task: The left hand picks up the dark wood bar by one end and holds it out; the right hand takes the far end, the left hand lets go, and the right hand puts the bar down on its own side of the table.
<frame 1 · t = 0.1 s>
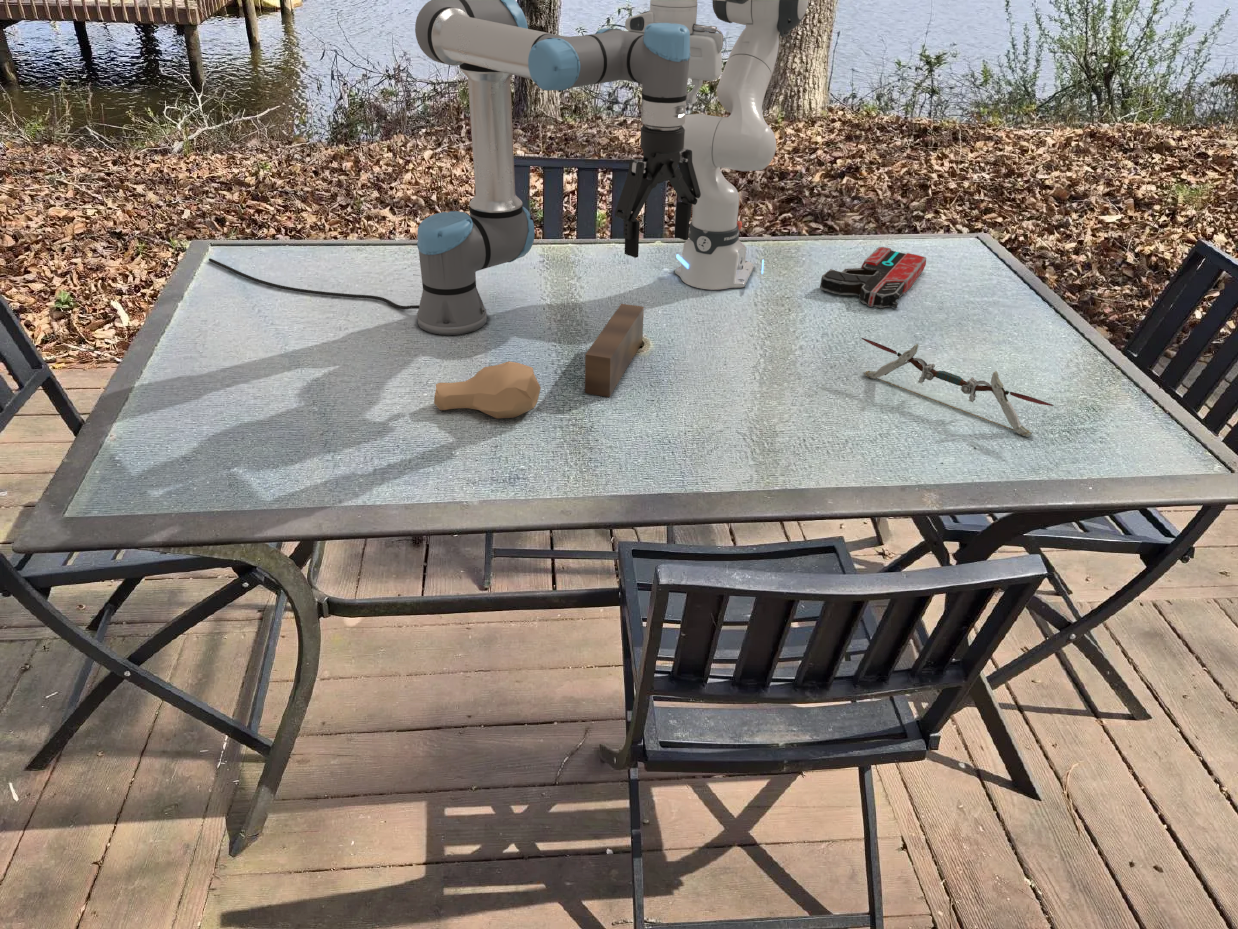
left hand: (657, 246, 161), 28 cm above the table, tool pointing down, fingers open, 13 cm apart
right hand: (668, 100, 172), 48 cm above the table, tool pointing down, fingers open, 8 cm apart
squash: (488, 410, 165), on the table
bar: (615, 366, 181), on the table
gun: (874, 283, 222), on the table
bow: (942, 404, 171), on the table
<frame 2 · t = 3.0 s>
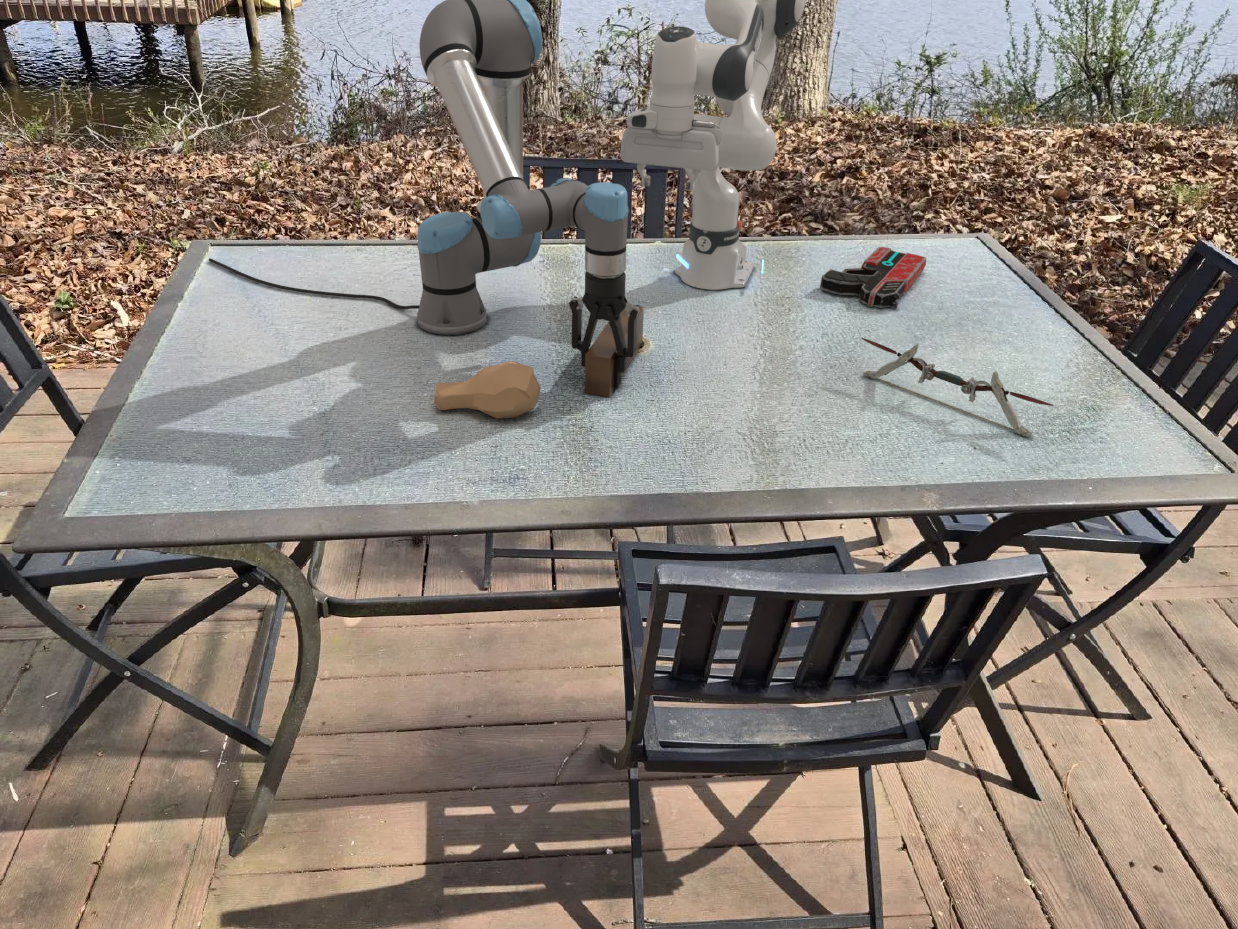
left hand: (603, 383, 174), 1 cm above the table, tool pointing down, fingers closed on bar, 5 cm apart
right hand: (667, 187, 183), 30 cm above the table, tool pointing down, fingers open, 8 cm apart
bar: (615, 366, 181), on the table, touching left hand
everything else where it was.
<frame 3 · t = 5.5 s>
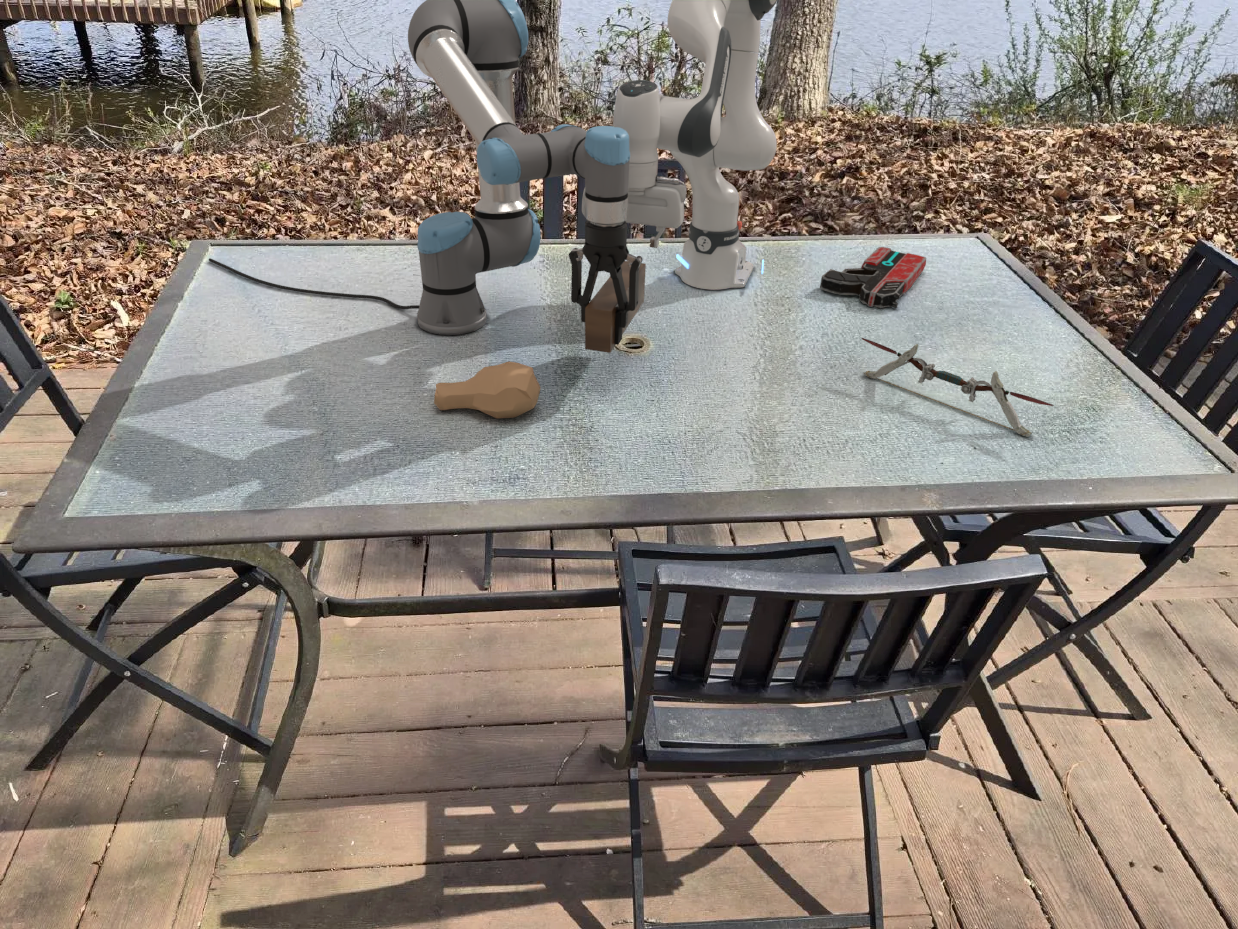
left hand: (604, 339, 168), 10 cm above the table, tool pointing down, fingers closed on bar, 5 cm apart
right hand: (631, 244, 176), 23 cm above the table, tool pointing down, fingers open, 8 cm apart
bar: (616, 324, 176), point 10 cm above the table, touching left hand
everything else where it was.
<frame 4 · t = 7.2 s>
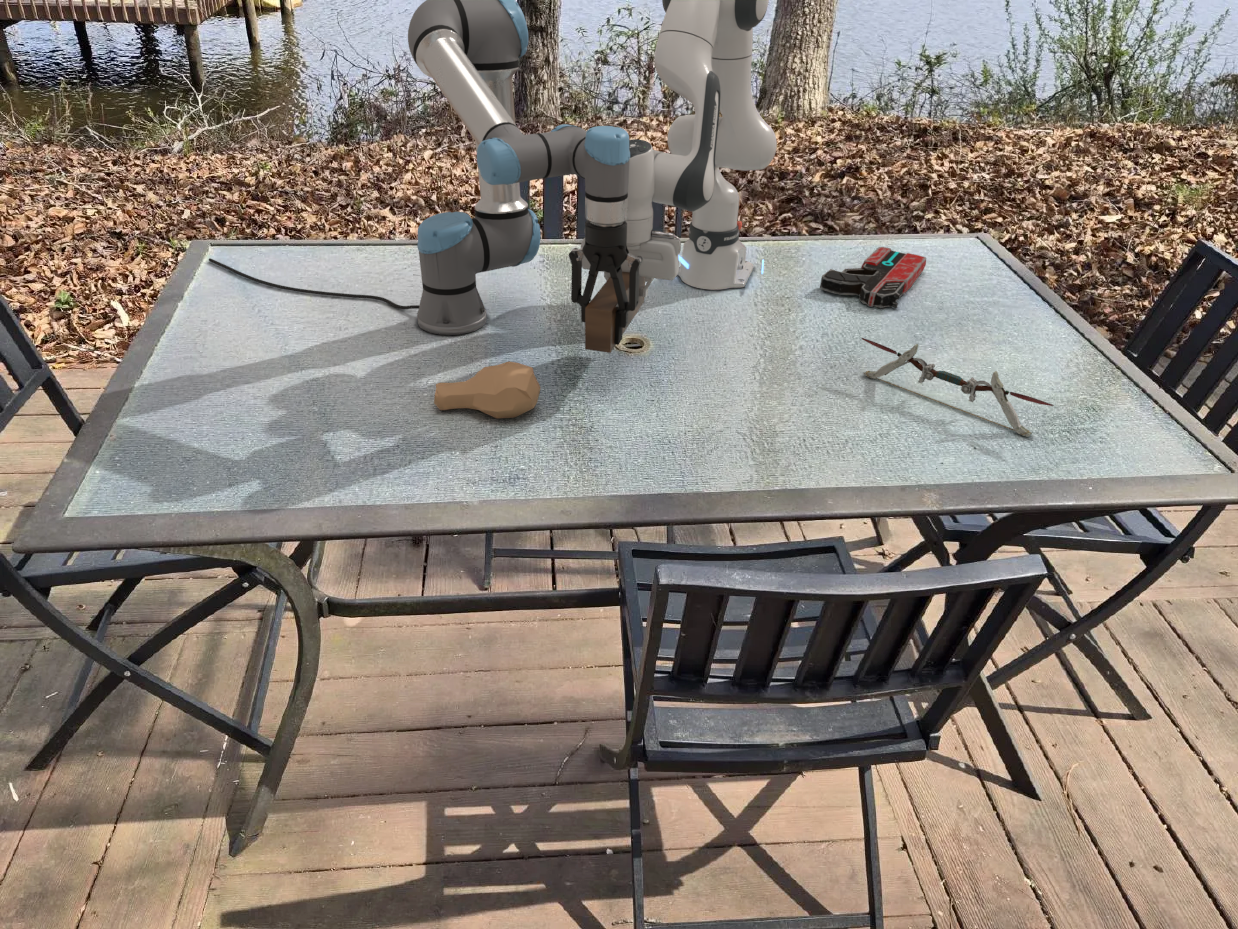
left hand: (604, 339, 168), 10 cm above the table, tool pointing down, fingers closed on bar, 5 cm apart
right hand: (628, 293, 181), 13 cm above the table, tool pointing down, fingers closed on bar, 5 cm apart
bar: (616, 324, 176), point 10 cm above the table, touching left hand, right hand
everything else where it was.
when the left hand's fingers open (10 cm above the table, at t = 8.1 s): bar stays where it is, held by the right hand.
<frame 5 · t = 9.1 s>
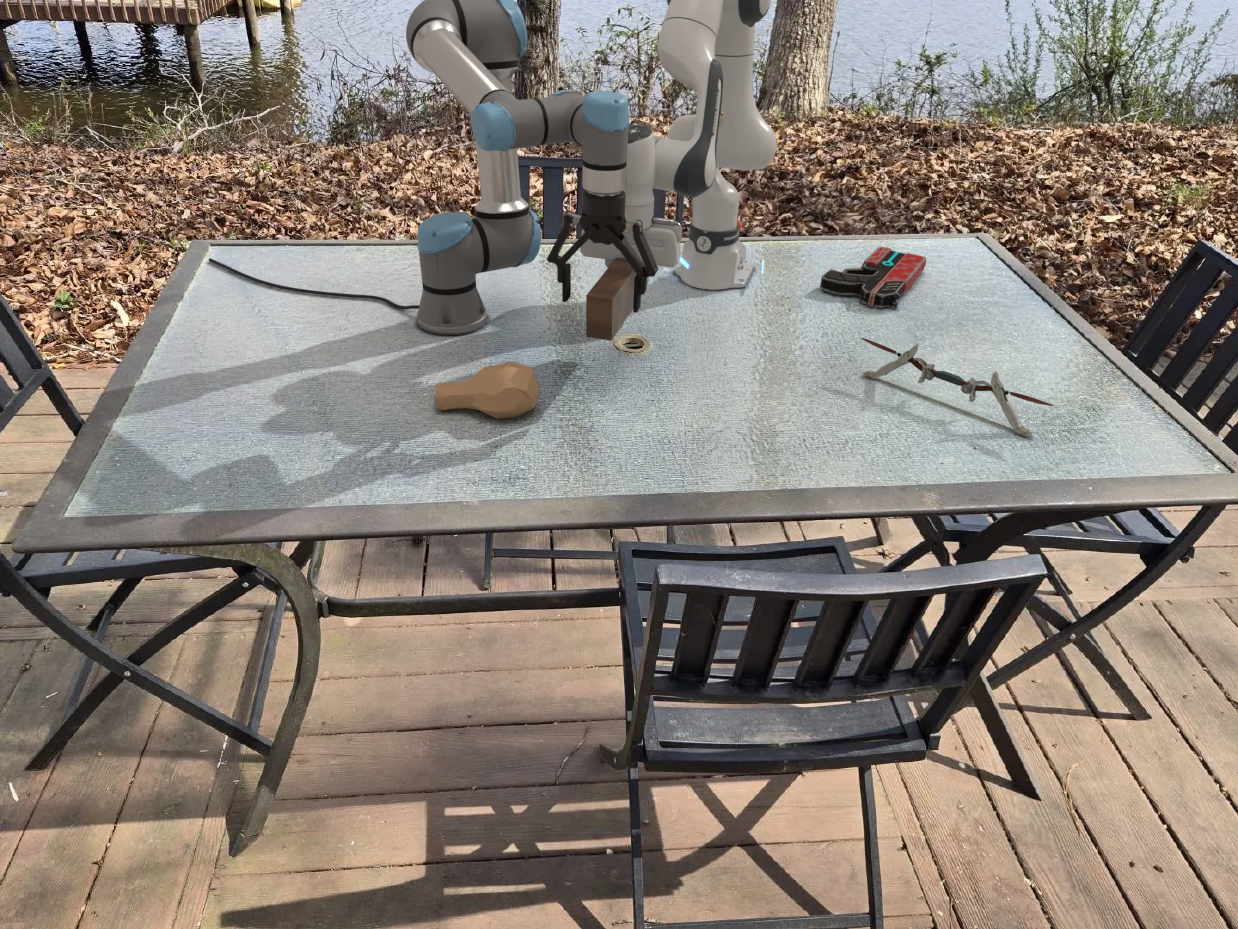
left hand: (601, 304, 163), 18 cm above the table, tool pointing down, fingers open, 13 cm apart
right hand: (629, 281, 180), 15 cm above the table, tool pointing down, fingers closed on bar, 5 cm apart
bar: (617, 312, 174), point 12 cm above the table, touching right hand
everything else where it was.
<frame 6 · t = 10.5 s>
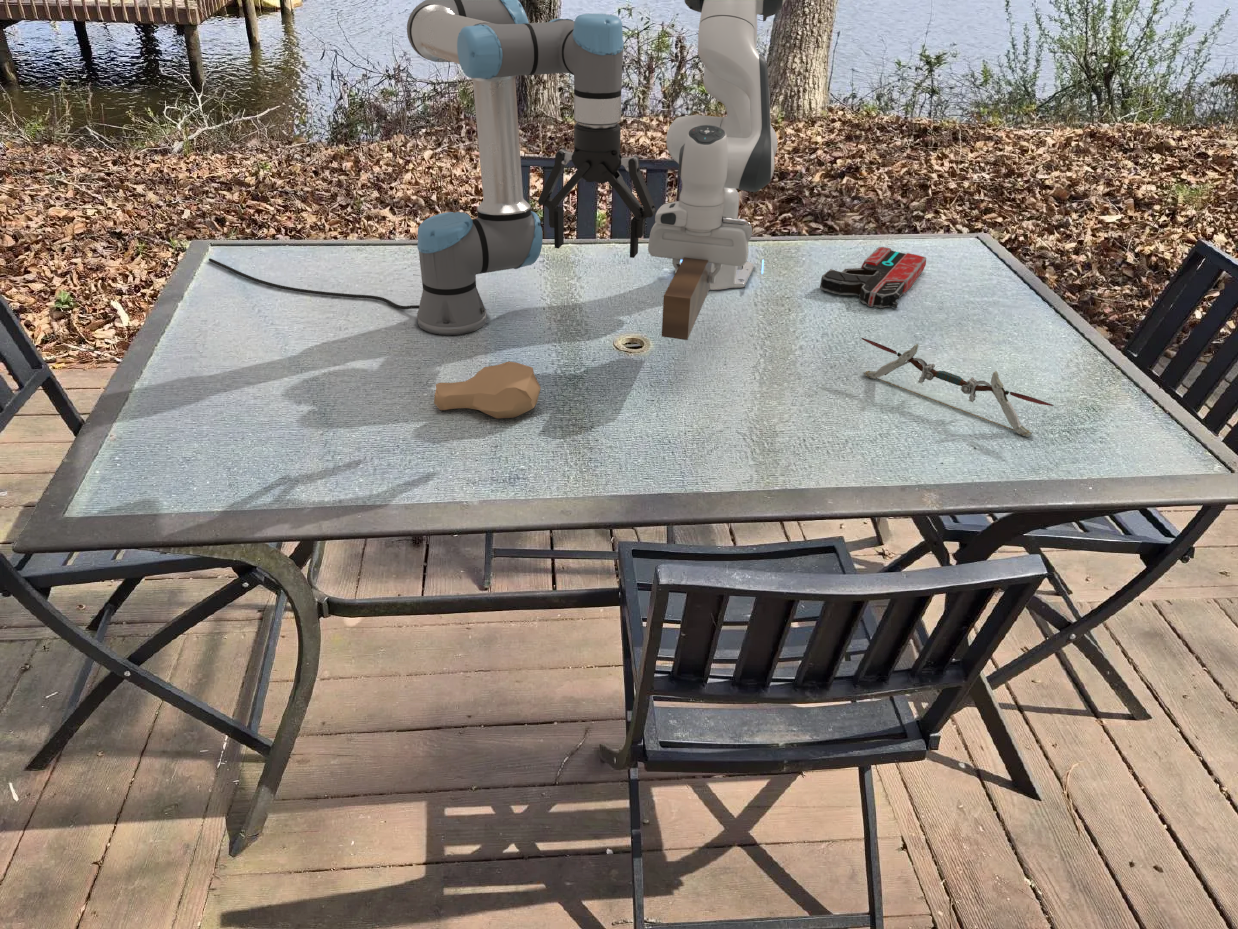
left hand: (596, 250, 153), 30 cm above the table, tool pointing down, fingers open, 13 cm apart
right hand: (695, 280, 181), 15 cm above the table, tool pointing down, fingers closed on bar, 5 cm apart
bar: (687, 311, 176), point 12 cm above the table, touching right hand
everything else where it was.
when the right hand's fingers open (5 cm above the table, at t = 13.8 s): bar stays where it is, on the table.
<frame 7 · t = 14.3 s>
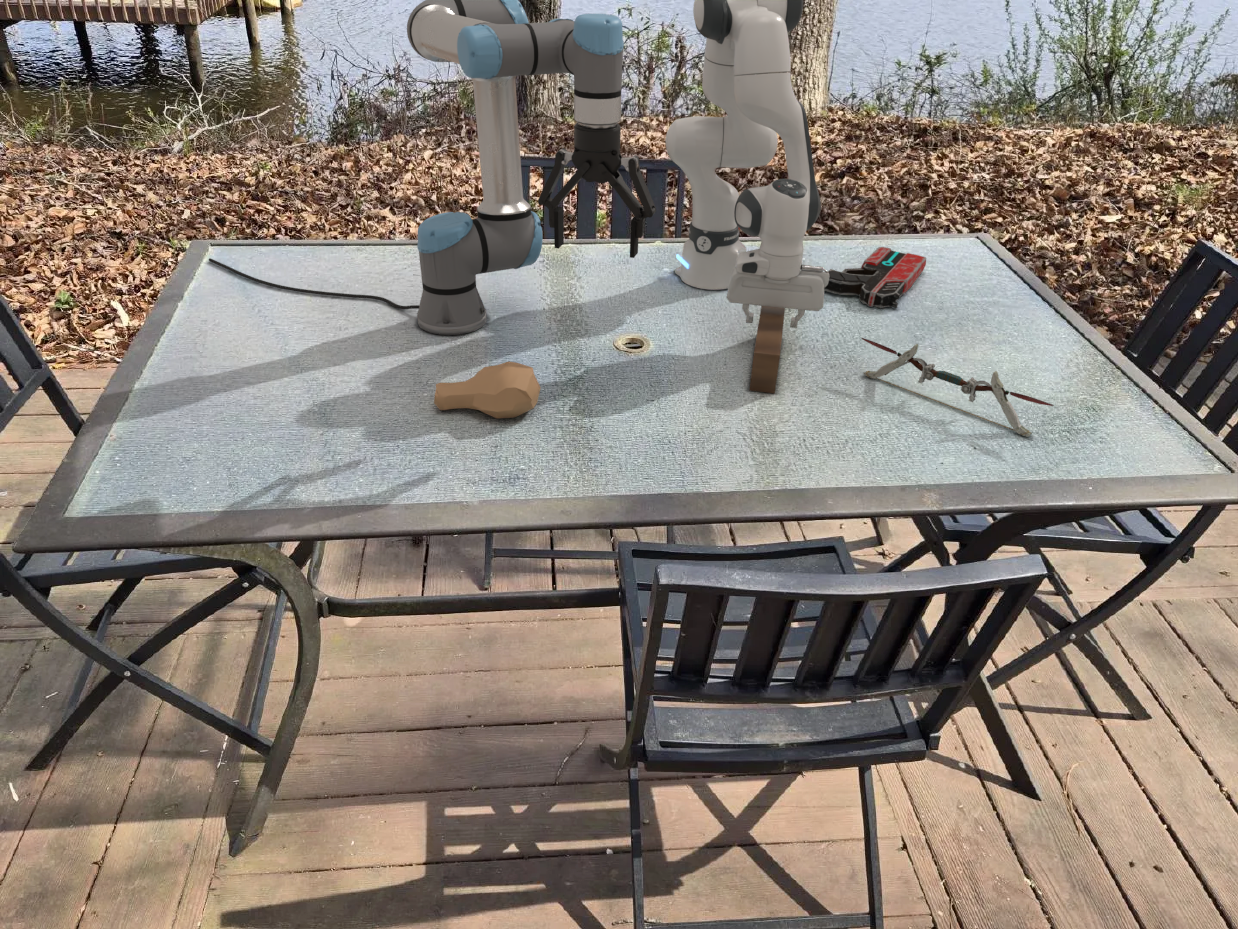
left hand: (596, 250, 153), 30 cm above the table, tool pointing down, fingers open, 13 cm apart
right hand: (771, 324, 188), 5 cm above the table, tool pointing down, fingers open, 8 cm apart
bar: (765, 363, 184), on the table
everything else where it was.
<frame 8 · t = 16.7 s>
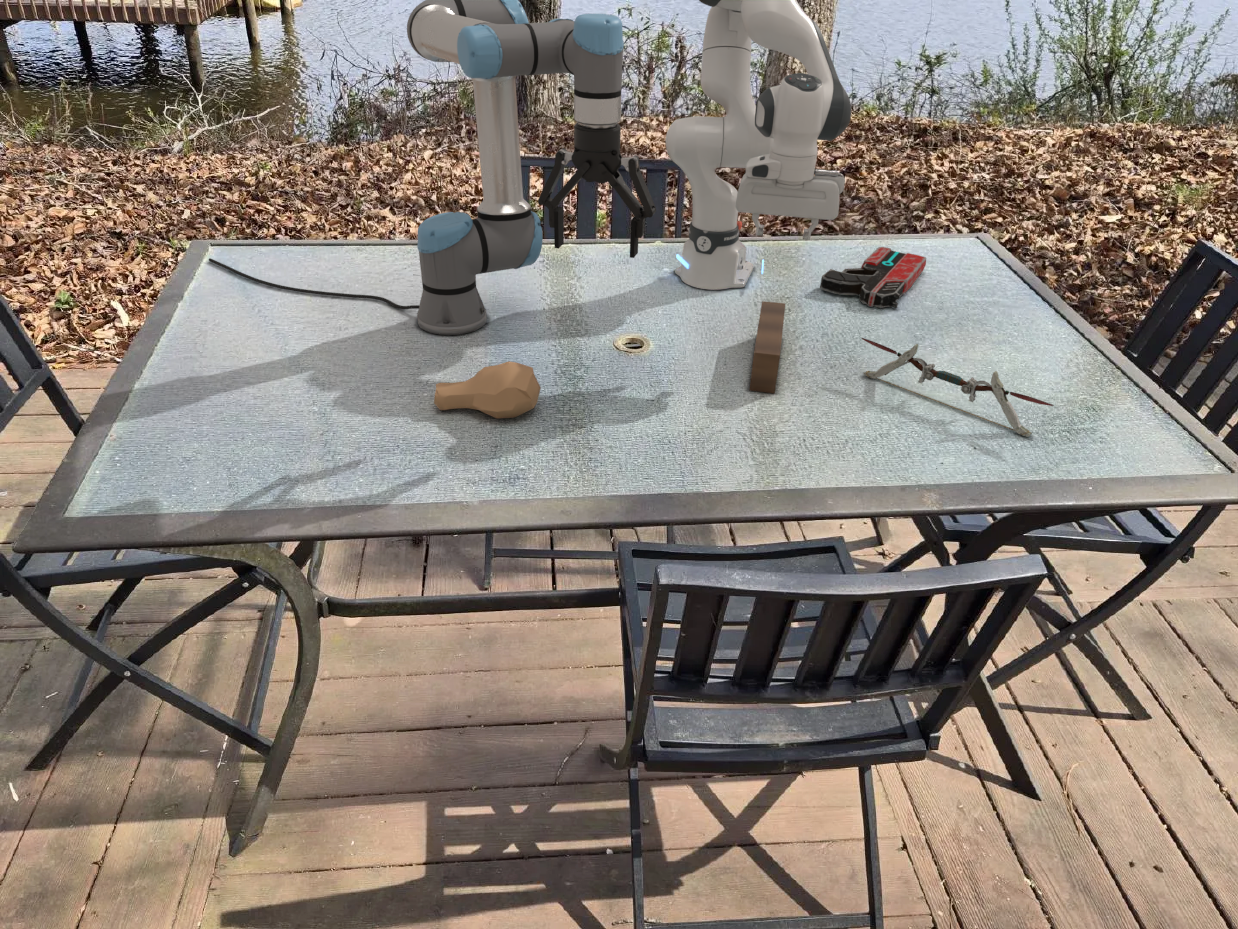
left hand: (596, 250, 153), 30 cm above the table, tool pointing down, fingers open, 13 cm apart
right hand: (782, 236, 177), 25 cm above the table, tool pointing down, fingers open, 8 cm apart
nothing on the table moved.
at the end: bar inside the target area (8.2 cm from its centre), on the table; the left hand is holding nothing; the right hand is holding nothing; bar at rest at the end (0.0 cm/s) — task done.
